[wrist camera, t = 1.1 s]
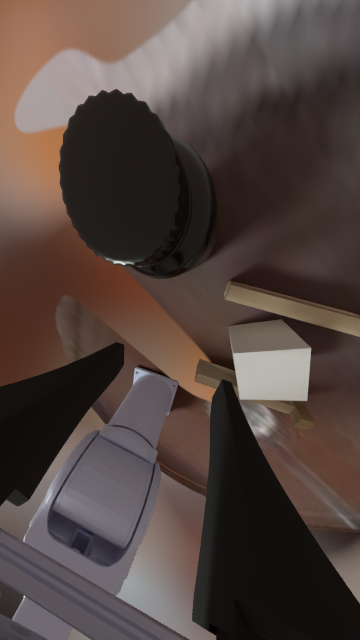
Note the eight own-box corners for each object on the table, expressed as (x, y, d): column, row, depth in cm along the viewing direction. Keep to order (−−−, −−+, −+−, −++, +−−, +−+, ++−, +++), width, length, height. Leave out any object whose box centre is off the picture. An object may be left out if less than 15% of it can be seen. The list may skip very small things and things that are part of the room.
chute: (290, 397, 21) (307, 430, 17) (197, 366, 22) (193, 389, 18) (362, 315, 15) (415, 336, 11) (228, 280, 16) (232, 287, 12)
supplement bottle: (189, 177, 14) (90, -115, 3) (231, 239, 15) (269, 192, 4) (144, 234, 16) (10, 193, 6) (181, 281, 18) (128, 320, 7)
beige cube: (281, 360, 19) (307, 401, 14) (233, 362, 21) (239, 399, 15) (281, 318, 17) (311, 348, 11) (228, 325, 19) (232, 353, 13)
